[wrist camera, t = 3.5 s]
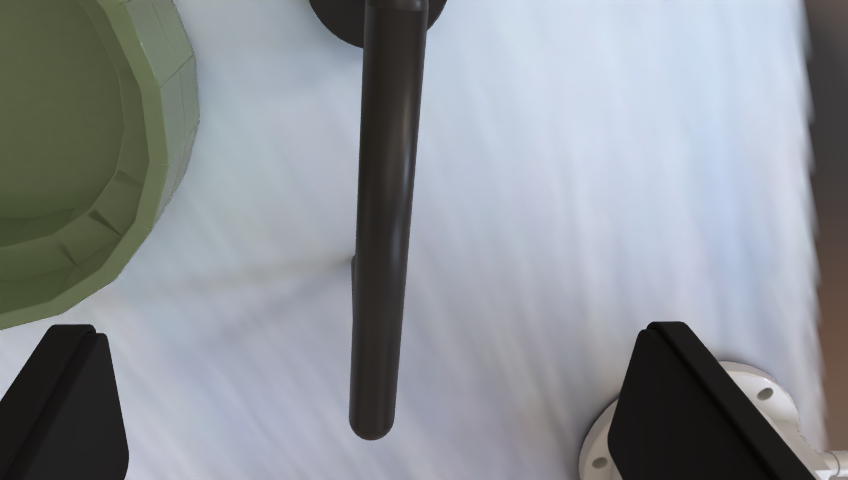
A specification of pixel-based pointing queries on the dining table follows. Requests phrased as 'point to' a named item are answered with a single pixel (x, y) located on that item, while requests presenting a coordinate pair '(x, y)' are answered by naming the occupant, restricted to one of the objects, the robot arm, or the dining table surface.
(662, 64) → the dining table surface
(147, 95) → the bowl
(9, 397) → the robot arm
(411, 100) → the ladle
